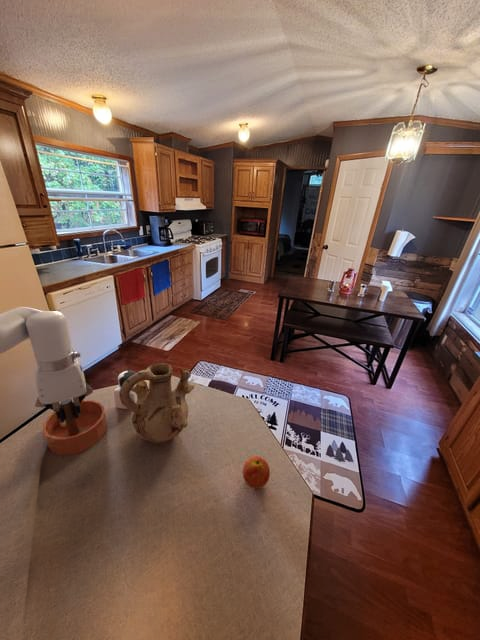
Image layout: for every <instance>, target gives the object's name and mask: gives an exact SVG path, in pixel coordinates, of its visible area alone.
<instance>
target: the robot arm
mask: <svg viewBox="0 0 480 640" xmlns="http://www.w3.org/2000/svg"><path fill="white" fill-rule="evenodd" d="M27 340H29V341H30V345H31V347H32V351H33V355H34V358H35V361H36V365H37V366H36V367H35V368H34V369H35V371H34V373H35V384H36V390H37V391H36V392H37V397H36V400H35V404H34V407H35V408H45V409H47V410H48V409H49V410H51V411H53V412H56V415H57V418H58V419H61V423H63V422H64V421H65V418H64V414H63V410H62V407H61V403H60V402H61V401H63V400H67V399H72V401H73V410H74V414H75V418H76V419H77V418H79V413H81V408H80V403H81V402H82V401H83V400H85V398H86V397H88V396H90V395H91V394H93V393H94V389H93V387H91V386H90V385H89V384H88V383H87V381H86V377H85V373H84V370H83V367H82V365H81V362H80V360H79V358H80V357H81V352H80V351H75V350H74V349H73V345H72V341H71V336H70V331H69V326H68V322H67V318H66V316H65V315H64V314H63V313H62V312H59V311H55V310H46V311H45V310H39V309H37V308H32V307H30V306H29V307H28V306H18V307H14V308H12V309H9V310H7V311H5V312H2V313H0V354H4V353H6V352H7V351H9V350H11V349H13V348H15V347H16V346H18V345H19V344H21V343H23V342H25V341H27Z"/></svg>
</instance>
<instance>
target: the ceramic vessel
mask: <svg viewBox="0 0 480 640" xmlns="http://www.w3.org/2000/svg"><path fill="white" fill-rule="evenodd" d="M173 370H174V368H173V366H171V365H170V364H169V363H163V362H162V363H153V364H151V365H149V366H147V368H146V369H142V370H139V371H137V372H136V374H134V375H132V376H131V377H129V378H128V379H127V380H126V381H125V382H124V383H123V385H122V387H121V389H120V393H119V396H120V400H121V402H122V404H123V405H124V406H125V407H126V408H127V409H126V410H128V411H130V412H131V416H130V417H131V424H132V426H133V428H134V430H135V432H136V433H137V434H138V436H139V437H141V438H142V439H143V440H145V441H147V442H152V443H154V444H155V443H156V444H165V443H169V442H170V441H171V440H172V439H174V438H176V437H177V436H178V435H179V434H180V433H181V432H182V431H183V430H184V429H186V428H187V427H188V426H189V422H188V417H189V406H188V405H189V404H188V403H187V400H186V396H187V394H190V393H191V392H192V391H193V390H194V389H195V386H194V384H191V383H189V382H188V381H189V379H190V378H191V376H192V374H191V372H190V370H184V369H182V368H181V369H180V371H179V372H180V376H179V381H178V382H177V385H176V388H175V389H172V377H173ZM147 381H148V382H149V383H148V382H147ZM130 391H133V392H135V393H136V394H137V402H134V401H133V400H132V398H131V397H130Z"/></svg>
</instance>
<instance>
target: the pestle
mask: <svg viewBox="0 0 480 640" xmlns="http://www.w3.org/2000/svg"><path fill="white" fill-rule="evenodd" d="M60 404H61V407H62V410H63V414H64V418H65V422H66V426H67V430H68V433H67V435H66V437H70V436H75V435H78V434H80V433H82V432H83V430H82V429H79V427H78V423H77V419H76V418H75V414H74V410H73V398H71V399H67V400H63V401H60ZM66 437H65V438H66Z"/></svg>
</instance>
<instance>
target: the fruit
mask: <svg viewBox="0 0 480 640" xmlns="http://www.w3.org/2000/svg"><path fill="white" fill-rule="evenodd" d="M242 476H243V478H244V482H245V483H246V484H247V485H248V486H249V487H250V488H252V489H260V488H263V487H264V486H266V485H267V483H268V482H269V479H270V476H271V471H270V465H269V464H268V462H267V461H266V459H264V458H263V457H261V456H257V455H256V456H255V455H254V456H251V457H249V458H248V459H247V460H246V461H245V462H244V464H243V467H242Z"/></svg>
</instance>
